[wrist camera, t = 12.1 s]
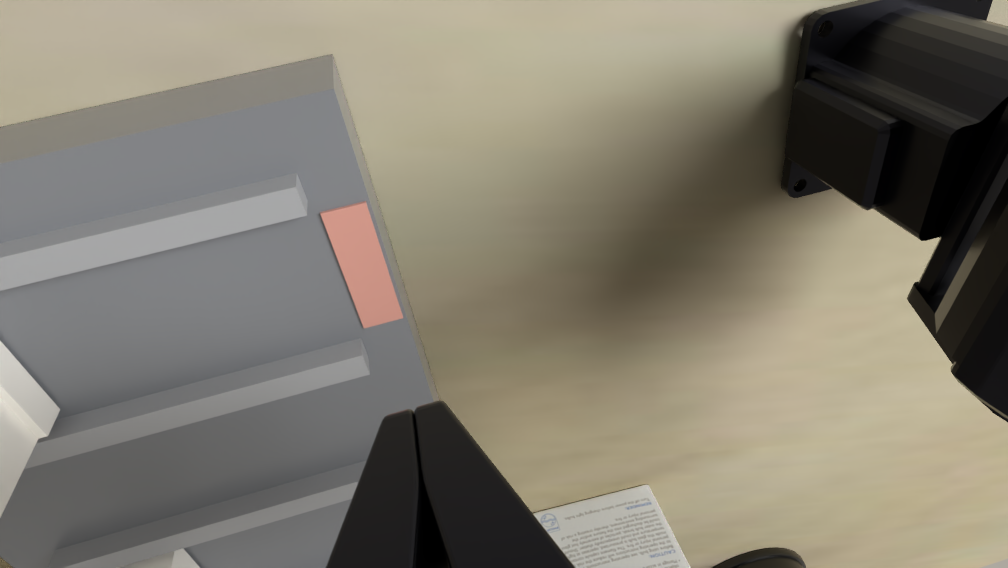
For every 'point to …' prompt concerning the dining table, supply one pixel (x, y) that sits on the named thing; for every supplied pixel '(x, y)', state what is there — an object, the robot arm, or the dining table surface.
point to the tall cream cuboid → (166, 561)
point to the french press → (766, 559)
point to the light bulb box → (614, 531)
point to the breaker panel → (200, 323)
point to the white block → (19, 420)
